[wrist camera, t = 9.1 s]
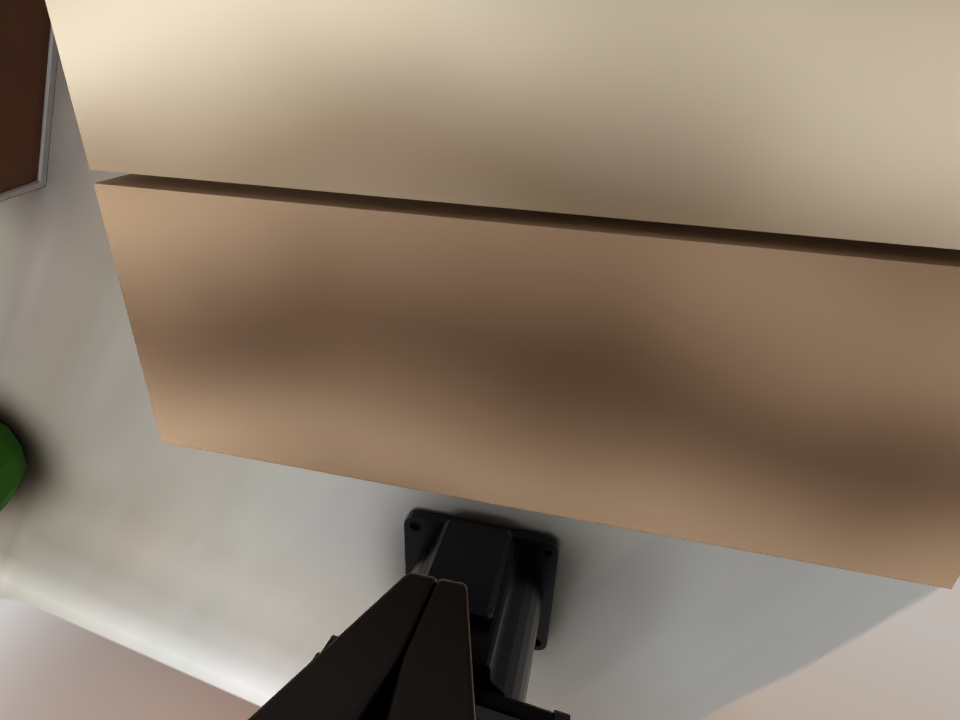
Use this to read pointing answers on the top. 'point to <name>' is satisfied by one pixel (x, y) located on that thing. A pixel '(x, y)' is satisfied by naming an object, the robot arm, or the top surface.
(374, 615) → the robot arm
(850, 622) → the top surface
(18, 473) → the bell pepper
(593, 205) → the pale plank
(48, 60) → the food container
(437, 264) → the floor platform
